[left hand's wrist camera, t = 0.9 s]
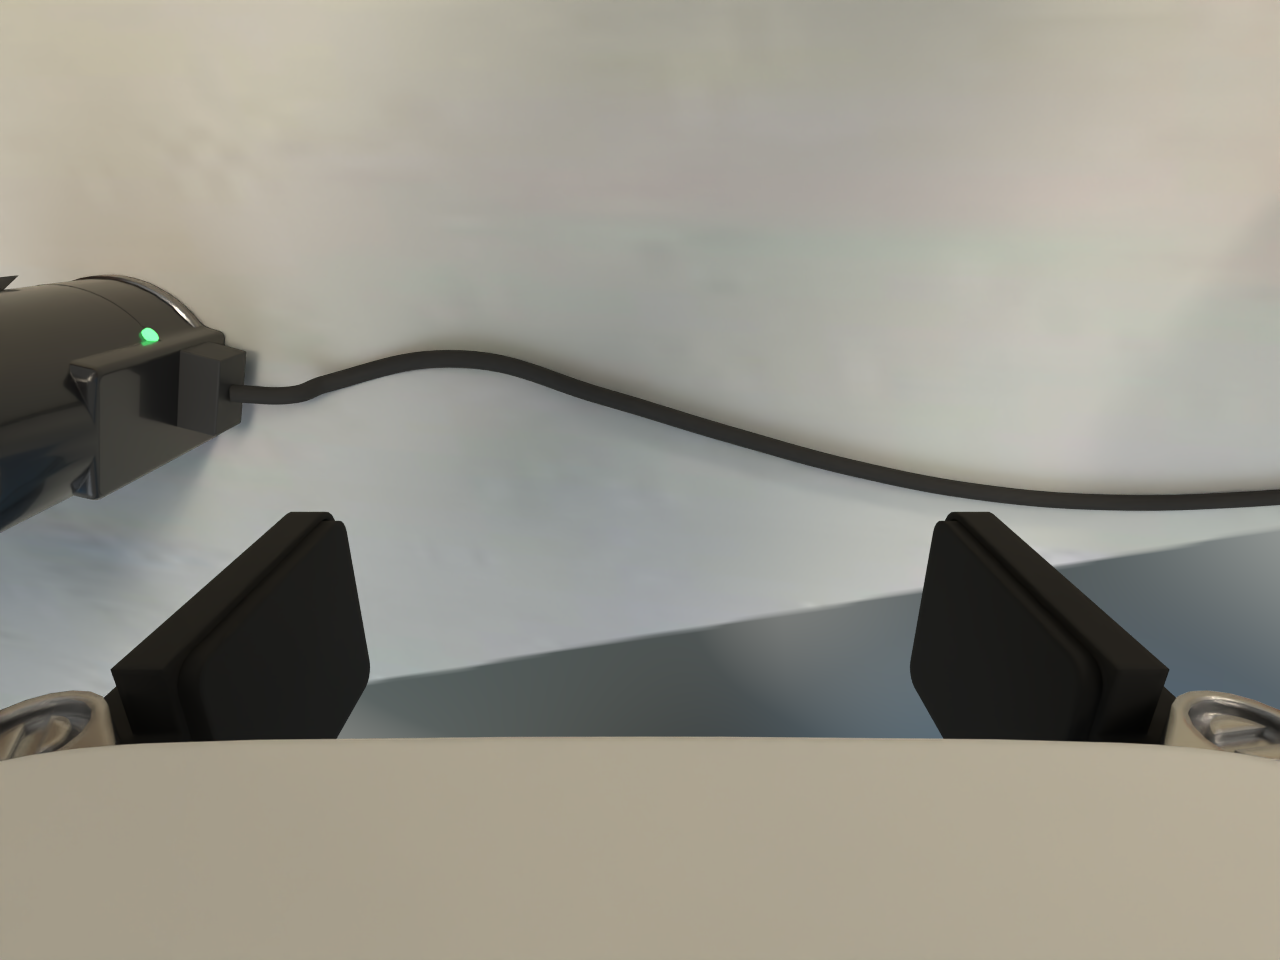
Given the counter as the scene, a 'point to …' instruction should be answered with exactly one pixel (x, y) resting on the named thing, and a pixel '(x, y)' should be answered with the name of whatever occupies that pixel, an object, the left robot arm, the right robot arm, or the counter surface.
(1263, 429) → the counter surface
